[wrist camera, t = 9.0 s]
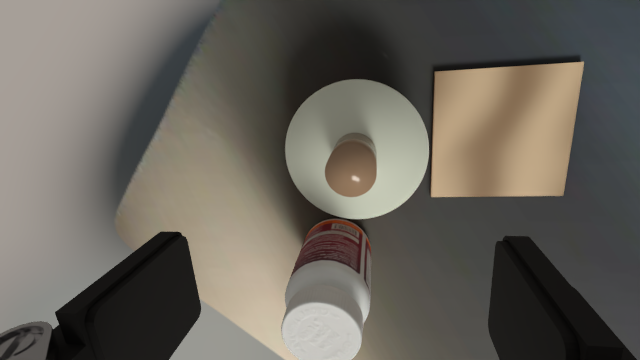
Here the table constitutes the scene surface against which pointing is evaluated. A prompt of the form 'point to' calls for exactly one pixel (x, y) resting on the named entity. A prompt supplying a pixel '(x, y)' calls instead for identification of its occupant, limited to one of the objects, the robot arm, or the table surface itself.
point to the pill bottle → (328, 293)
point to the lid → (357, 149)
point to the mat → (503, 130)
